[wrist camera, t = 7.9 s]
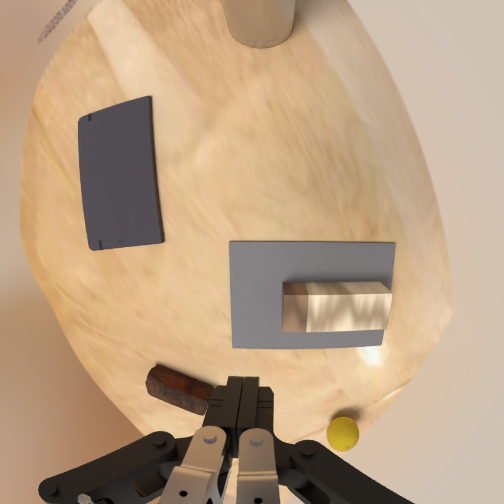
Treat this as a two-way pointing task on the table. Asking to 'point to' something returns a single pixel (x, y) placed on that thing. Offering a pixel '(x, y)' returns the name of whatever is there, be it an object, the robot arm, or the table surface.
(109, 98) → the table surface
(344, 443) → the lemon
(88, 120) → the notebook
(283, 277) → the rubber mat
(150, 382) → the brick
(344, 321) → the tall block
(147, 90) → the table surface
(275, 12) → the robot arm
